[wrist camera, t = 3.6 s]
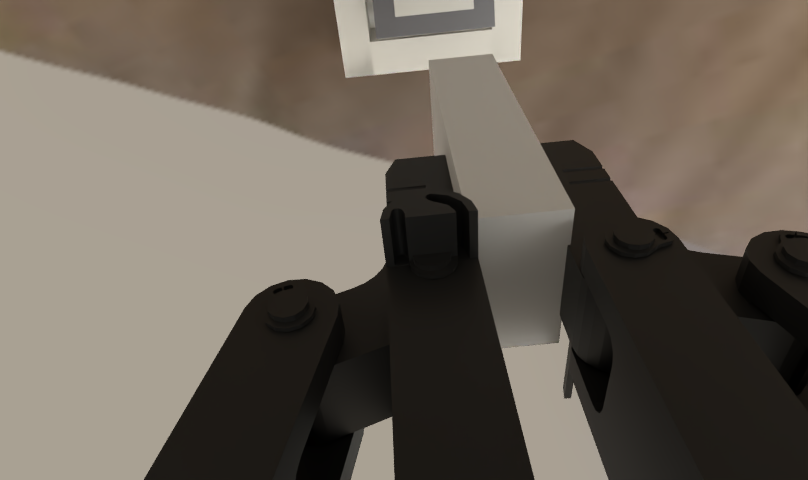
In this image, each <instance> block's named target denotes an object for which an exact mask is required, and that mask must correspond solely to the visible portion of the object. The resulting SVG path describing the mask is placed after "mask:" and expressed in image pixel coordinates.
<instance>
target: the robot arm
mask: <svg viewBox="0 0 808 480" xmlns="http://www.w3.org/2000/svg"><path fill="white" fill-rule="evenodd" d="M429 77H430V94H431V110H432V127H433V144H434V156H428V157H418V158H407V159H397V160H395V161H394V162H393V164H392V165H391V167H390V168H389V170H388V171H387V173H386V174H385V175H386V198H387V206H386V207H385V208H384V210H383V212H382V216H381V219H380V223H381V230H382V238H383V245H384V253H385V260H386V263H385V265H384V267H383V269H382V270H381V271H380V272H379V273H378V274H377V275H376V276H375V277H373V278H372V279H370V280H369V281H367V282H366V283H364V284H362V285H359V286H357V287H355V288H352V289H350V290H347V291H344V292H341V293H338V294H335V292H334V290H332V289H331V288H329V287H328V286H326V285H325V284H323V283H321V282H317V281H312V280H308V279H300V280H288V281H285V282H282V283H279V284H276V285H273V286H270V287H268V288H267V289H265V290H264V291H262V292H261V293H259V294H257V295H256V296H255V297H254V298H253V299H252V300H251V302H250V303H249V304H248V305H247V306H246V307H245V308H244V310H243V312H242V313H241V315H240V317H239V319H238V320H237V322H236V324H235V325H234V327H233V329H232V330H231V332H230V334H229V336H228V338H227V339H226V341H225V343H224V344H223V346H222V347H221V349H220V351H219V353H218V354H217V356H216V358H215V359H214V361H213V363H212V364H211V366H210V368H209V370H208V371H207V373H206V375H205V376H204V378H203V380H202V382H201V383H200V385H199V387H198V388H197V390H196V392H195V394H194V395H193V397H192V398H191V400H190V402H189V404H188V405H187V407H186V409H185V410H184V412H183V414H182V416H181V417H180V419H179V421H178V422H177V424H176V426H175V427H174V429H173V431H172V433H171V434H170V436H169V438H168V440H167V441H166V443H165V445H164V446H163V448H162V450H161V451H160V453H159V455H158V456H157V458H156V460H155V462H154V463H153V465H152V467H151V468H150V470H149V472H148V474H147V475H146V477H145V479H144V480H351V476H352V473H353V469H354V466H355V462H356V458H357V455H358V451H359V448H360V444H361V441H362V437H363V432H364V428H365V427H368V426H370V425H372V424H375V423H377V422H380V421H382V420H384V419H387V418H389V417H392V421H393V447H394V473H395V480H534V476H533V472H532V468H531V464H530V460H529V456H528V452H527V448H526V444H525V440H524V436H523V432H522V429H521V425H520V420H519V416H518V413H517V409H516V405H515V401H514V397H513V393H512V389H511V385H510V381H509V377H508V373H507V369H506V366H505V361H504V358H503V353H502V350H501V348H508V347H518V346H529V345H540V344H550V343H558V342H559V336H560V328H561V320H562V322H563V325H564V327H565V330H566V332H567V335H568V338H569V340H570V342H569V348H568V356H567V363H566V370H565V377H564V385H563V390H564V398H571V394H572V388H573V382H574V385H575V388H576V390H577V393H578V396H579V399H580V401H581V404H582V407H583V410H584V413H585V415H586V418H587V421H588V424H589V426H590V429H591V432H592V435H593V437H594V440H595V443H596V446H597V449H598V452H599V454H600V457H601V460H602V463H603V465H604V468H605V471H606V474H607V476H608V479H609V480H808V233H804V232H797V231H796V232H795V231H785V230H779V231H771V232H764V233H762V234H760V235H758V236H756V237H754V238H752V239H751V240H750V242H749V244H748V246H747V248H746V250H745V253H744V255H743V257H738V256H729V255H720V254H710V253H702V252H696V251H690V250H687V248H686V247H685V246H684V244H683V243H682V242H681V240H680V239H679V238H678V237H677V236H676V235H675V234H674V233H673V232H671V231H670V230H669V229H668V228H666V227H664V226H662V225H660V224H658V223H656V222H654V221H651V220H646V219H642V218H637V216H636V215H635V213H634V212H633V210H632V209H631V207H630V206H629V204H628V203H627V202H626V200H625V199H624V197H623V196H622V194H621V193H620V191H619V190H618V188H617V187H616V185H615V184H614V182H613V181H610V177H609V175H608V174H607V172H606V171H605V169H602V165H601V163H600V162H599V160H598V159H597V158H596V156H595V155H594V153H593V152H592V151H591V150H589V149H587V148H586V147H584V146H582V145H581V144H579V143H577V142H576V141H574V140H570V141H559V142H549V143H540V142H539V140H538V139H537V137H536V135H535V133H534V131H533V129H532V127H531V125H530V124H529V122H528V120H527V118H526V116H525V114H524V112H523V110H522V109H521V107H520V105H519V103H518V101H517V99H516V97H515V96H514V94H513V92H512V90H511V88H510V86H509V84H508V82H507V81H506V79H505V77H504V75H503V73H502V71H501V69H500V67H499V66H498V64H497V62H496V60H495V58H494V56H493V54H484V55H474V56H465V57H455V58H445V59H435V60H429Z"/></svg>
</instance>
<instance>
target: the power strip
mask: <svg viewBox="0 0 808 480" xmlns="http://www.w3.org/2000/svg"><path fill="white" fill-rule="evenodd" d="M334 6H335V13H336V19H337V25H338V32H339V38H340V45H341V51H342V57H343V64H344V70H345V76H346V78H351V77H361V76H371V75H381V74H390V73H400V72H410V71H420V70H429V60H435V59H445V58H455V57H465V56H474V55H484V54H493V56H494V58H495V60H496V62H497V63H498V62H507V61H517V60H520V54H521V30H522V6H523V0H494V10H495V27H489V28H482V29H472V30H463V31H453V32H443V33H434V34H424V35H414V36H405V37H395V38H385V39H376V29H375V20H374V11H373V1H372V0H334Z"/></svg>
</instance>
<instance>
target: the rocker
mask: <svg viewBox="0 0 808 480" xmlns="http://www.w3.org/2000/svg"><path fill="white" fill-rule="evenodd" d="M372 1H373V11H374V20H375V29H376V39H385V38H395V37H405V36H414V35H424V34H434V33H443V32H453V31H463V30H472V29H482V28H489V27H495V10H494V0H372Z"/></svg>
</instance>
